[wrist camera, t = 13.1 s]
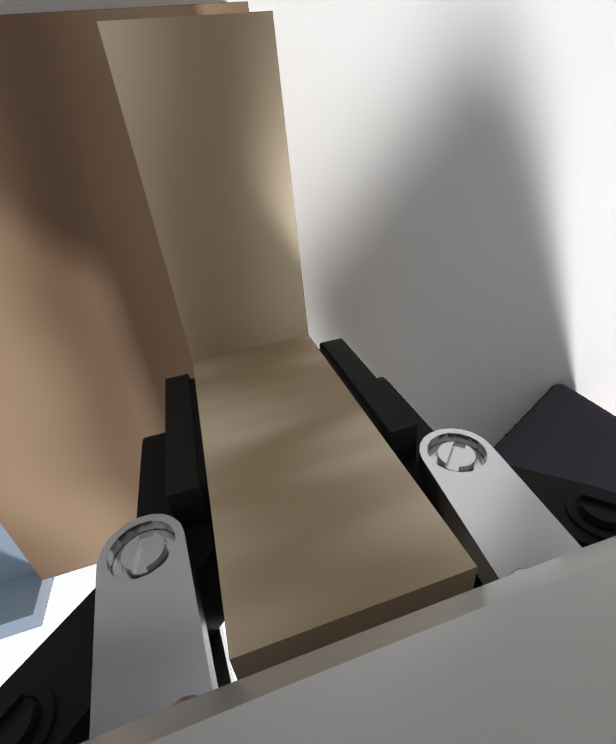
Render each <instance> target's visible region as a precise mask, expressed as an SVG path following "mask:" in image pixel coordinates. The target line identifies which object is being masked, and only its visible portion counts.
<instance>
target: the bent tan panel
mask: <svg viewBox="0 0 616 744" xmlns="http://www.w3.org/2000/svg"><path fill="white" fill-rule="evenodd" d="M97 24H98V28H99V31H100V35H101V38H102V42H103V46H104V49H105V53H106V56H107V60H108V63H109V67H110V70H111V74H112V77H113V81H114V85H115V88H116V92H117V95H118V99H119V102H120V106H121V109H122V113H123V116H124V120H125V123H126V127H127V131H128V134H129V138H130V141H131V145H132V148H133V152H134V155H135V159H136V162H137V166H138V169H139V173H140V177H141V180H142V184H143V187H144V191H145V194H146V198H147V201H148V205H149V208H150V212H151V215H152V219H153V223H154V226H155V230H156V233H157V237H158V240H159V244H160V247H161V251H162V254H163V258H164V261H165V265H166V269H167V272H168V276H169V279H170V283H171V286H172V290H173V293H174V297H175V300H176V304H177V308H178V311H179V315H180V318H181V322H182V325H183V329H184V332H185V336H186V339H187V343H188V346H189V350H190V354H191V357H192V361H193V368H194V376H195V384H196V392H197V401H198V409H199V417H200V425H201V433H202V441H203V449H204V457H205V465H206V473H207V482H208V490H209V498H210V506H211V514H212V522H213V530H214V538H215V546H216V554H217V563H218V571H219V579H220V587H221V595H222V603H223V611H224V619H225V627H226V635H227V644H228V652H229V660H230V662H231V665H232V667H233V670H234V672H235V674H236V677H237V679H238V680H240V679H243V678H245V677H248V676H250V675H253V674H255V673H258V672H260V671H263V670H265V669H268V668H271V667H273V666H276V665H278V664H281V663H283V662H286V661H288V660H291V659H294V658H296V657H299V656H301V655H304V654H306V653H309V652H312V651H314V650H317V649H319V648H322V647H324V646H327V645H330V644H332V643H335V642H337V641H340V640H343V639H345V638H348V637H350V636H353V635H355V634H358V633H361V632H363V631H366V630H368V629H371V628H374V627H376V626H379V625H381V624H384V623H387V622H389V621H392V620H394V619H397V618H399V617H402V616H405V615H407V614H410V613H412V612H415V611H418V610H420V609H423V608H425V607H428V606H431V605H433V604H436V603H438V602H441V601H444V600H446V599H449V598H451V597H454V596H457V595H459V594H462V593H464V592H467V591H470V590H472V589H473V588H474V582H475V577H476V572H477V566H476V564H475V563H474V561H473V560H472V559H471V557H470V556H469V555H468V553H467V552H466V550H465V549H464V548H463V546H462V545H461V544H460V542H459V541H458V539H457V538H456V537H455V535H454V534H453V533H452V531H451V530H450V529H449V527H448V526H447V524H446V523H445V522H444V520H443V519H442V518H441V516H440V515H439V513H438V512H437V511H436V509H435V508H434V507H433V505H432V504H431V502H430V501H429V500H428V498H427V497H426V496H425V494H424V493H423V491H422V490H421V489H420V487H419V486H418V485H417V483H416V482H415V481H414V479H413V478H412V476H411V475H410V474H409V472H408V471H407V470H406V468H405V467H404V465H403V464H402V463H401V461H400V460H399V459H398V457H397V456H396V454H395V453H394V452H393V450H392V449H391V448H390V446H389V445H388V444H387V442H386V441H385V439H384V438H383V437H382V435H381V434H380V433H379V431H378V430H377V428H376V427H375V426H374V424H373V423H372V422H371V420H370V419H369V417H368V416H367V415H366V413H365V412H364V411H363V409H362V408H361V406H360V405H359V404H358V402H357V401H356V400H355V398H354V397H353V396H352V394H351V393H350V391H349V390H348V389H347V387H346V386H345V385H344V383H343V382H342V380H341V379H340V378H339V376H338V375H337V374H336V372H335V371H334V369H333V368H332V367H331V365H330V364H329V363H328V361H327V360H326V358H325V357H324V356H323V354H322V353H321V352H320V350H319V349H318V348H317V346H316V345H315V343H314V342H313V341H312V339H311V338H310V337H309V335H308V327H307V318H306V309H305V300H304V291H303V282H302V273H301V264H300V255H299V246H298V237H297V228H296V219H295V210H294V201H293V192H292V183H291V174H290V165H289V156H288V147H287V138H286V129H285V120H284V111H283V102H282V93H281V84H280V75H279V66H278V57H277V48H276V39H275V29H274V20H273V11H261V12H244V13H227V14H211V15H194V16H177V17H161V18H144V19H127V20H111V21H97Z"/></svg>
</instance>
